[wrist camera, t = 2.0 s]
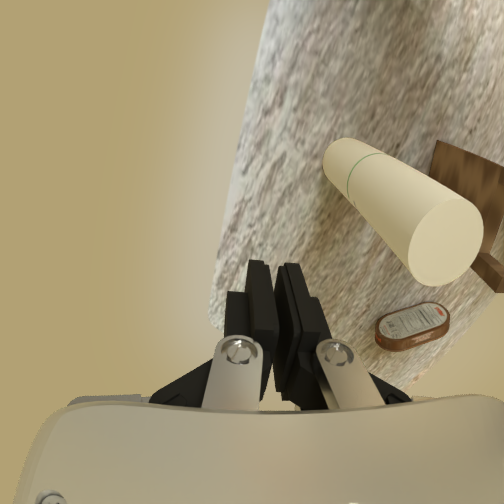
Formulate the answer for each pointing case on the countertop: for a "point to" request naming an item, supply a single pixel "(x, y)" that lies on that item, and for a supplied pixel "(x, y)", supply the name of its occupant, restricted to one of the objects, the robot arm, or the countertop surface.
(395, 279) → the countertop surface
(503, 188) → the U-rest
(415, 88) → the countertop surface
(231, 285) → the countertop surface
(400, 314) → the tin
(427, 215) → the cylindrical container
